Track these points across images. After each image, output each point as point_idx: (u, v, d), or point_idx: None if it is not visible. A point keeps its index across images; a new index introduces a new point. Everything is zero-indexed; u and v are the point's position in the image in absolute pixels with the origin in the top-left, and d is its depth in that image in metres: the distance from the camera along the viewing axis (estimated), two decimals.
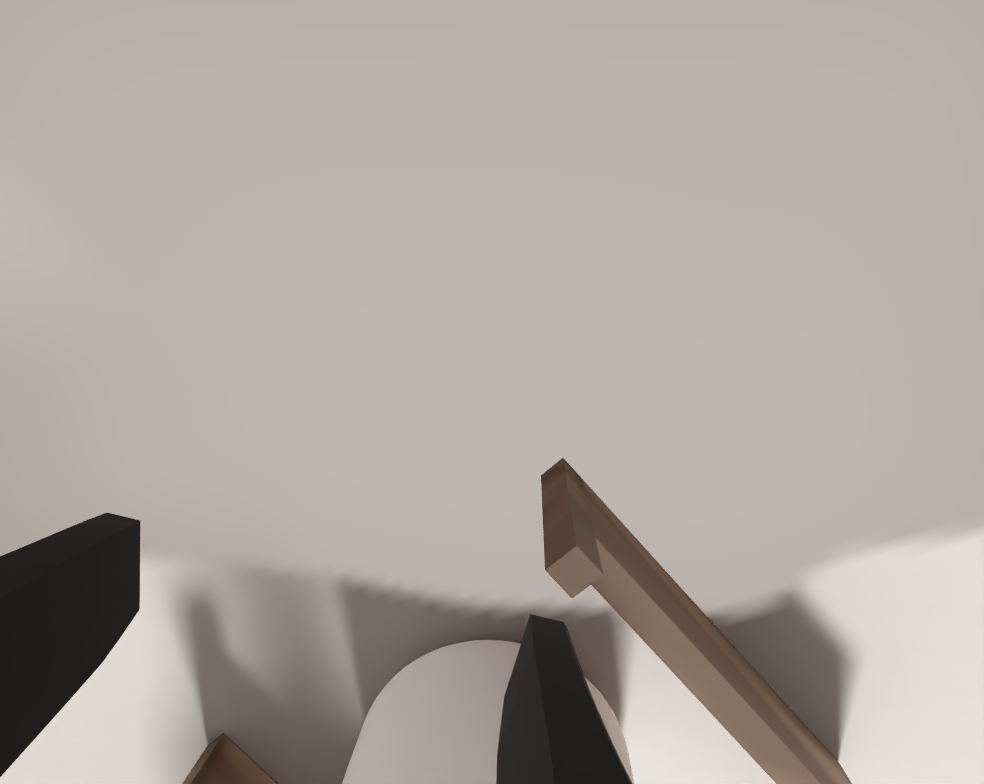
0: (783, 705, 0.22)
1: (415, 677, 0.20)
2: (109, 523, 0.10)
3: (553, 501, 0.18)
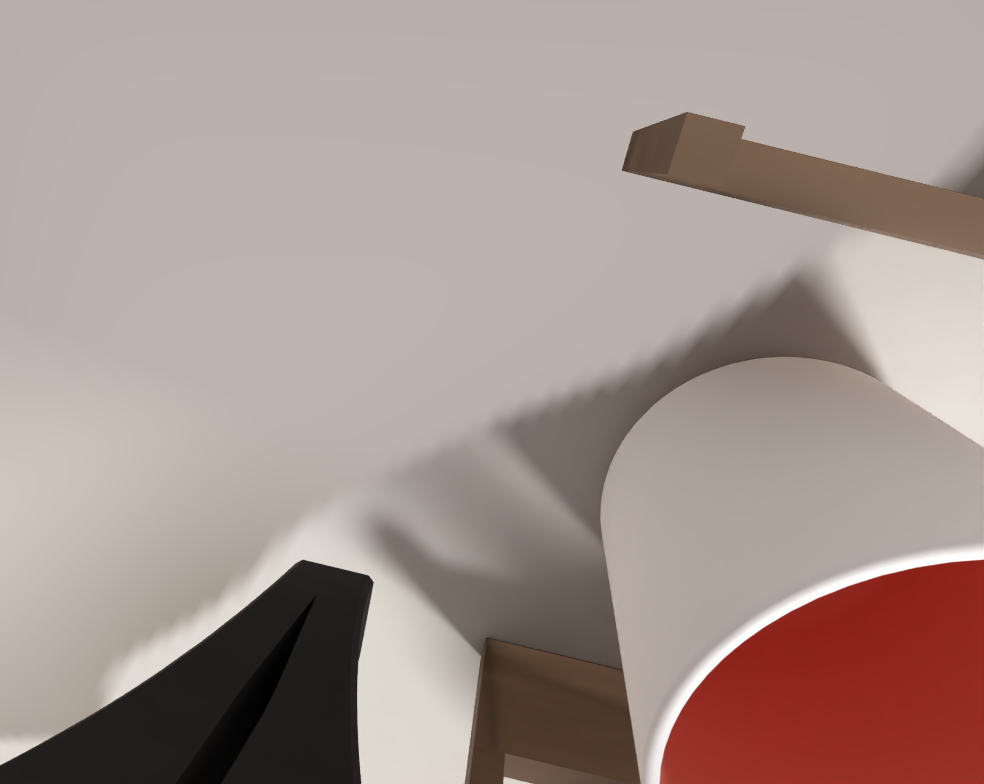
0: None
1: (622, 462, 0.17)
2: (312, 572, 0.10)
3: (643, 152, 0.13)
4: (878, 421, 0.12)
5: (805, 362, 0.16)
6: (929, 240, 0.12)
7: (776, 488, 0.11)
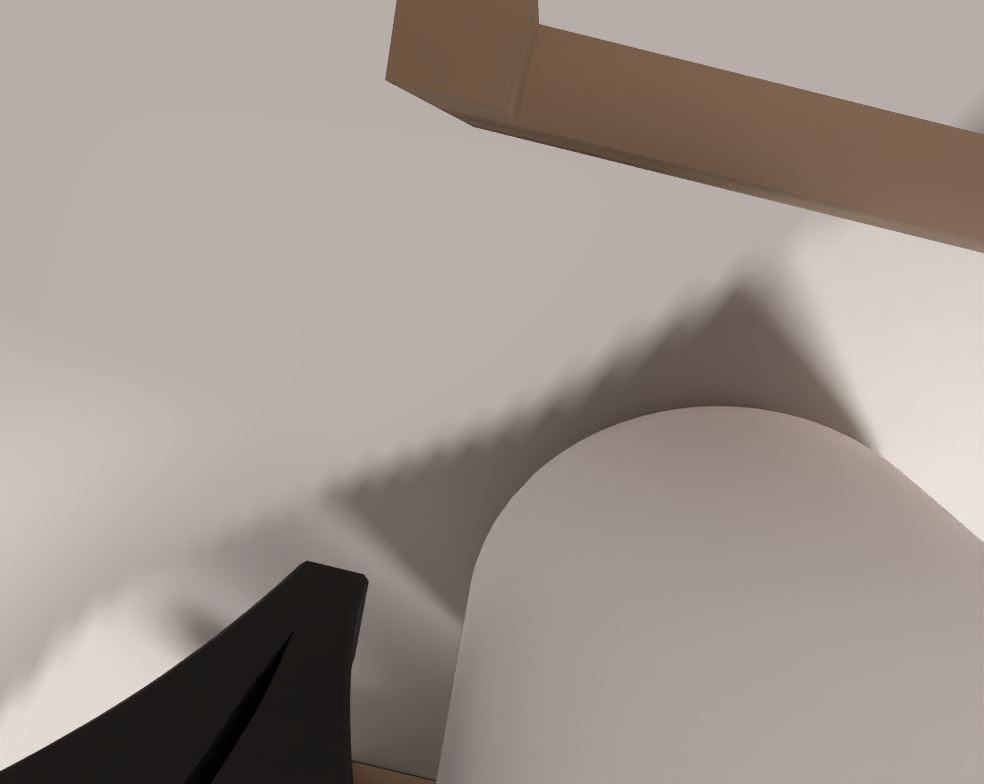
0: None
1: (484, 561, 0.12)
2: (317, 573, 0.10)
3: None
4: (850, 554, 0.07)
5: (748, 417, 0.11)
6: (941, 227, 0.07)
7: (644, 715, 0.06)
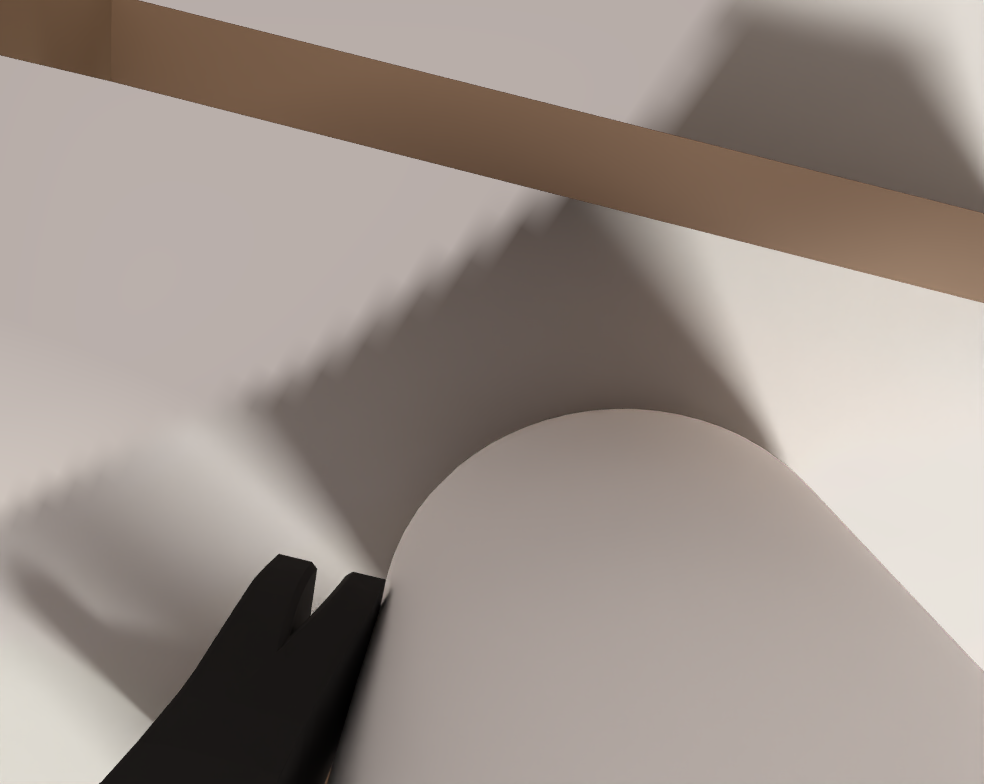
0: None
1: (401, 549, 0.12)
2: (365, 584, 0.10)
3: None
4: (744, 553, 0.07)
5: (668, 421, 0.11)
6: (477, 172, 0.08)
7: (533, 700, 0.06)
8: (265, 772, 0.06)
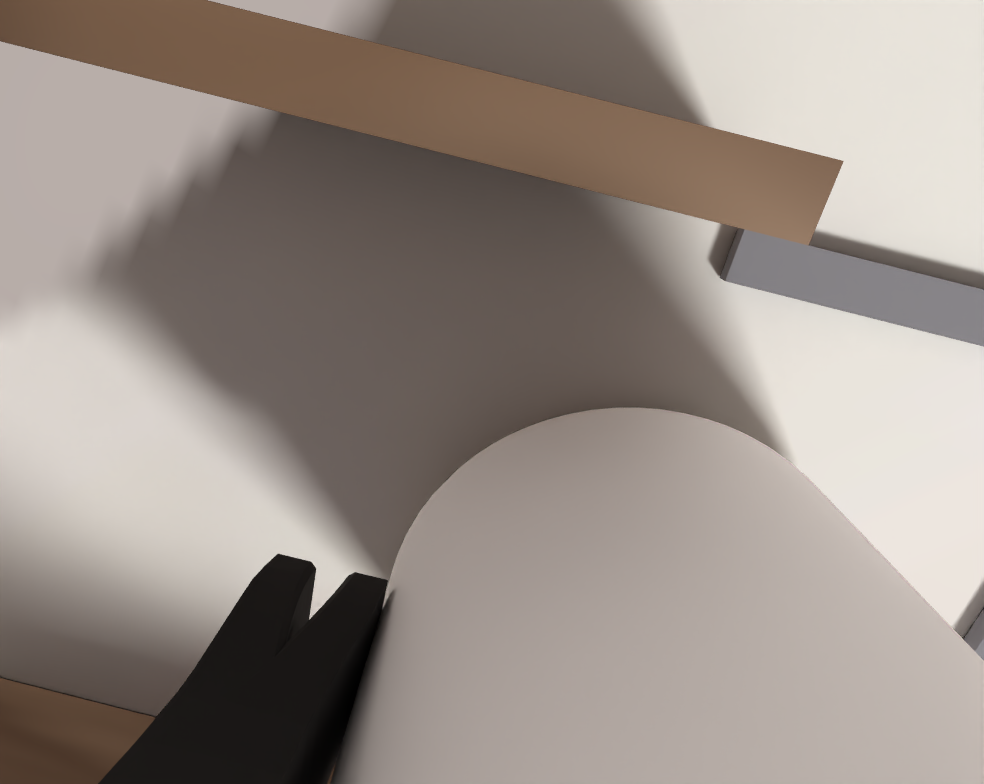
0: None
1: (404, 551, 0.11)
2: (367, 585, 0.10)
3: None
4: (747, 552, 0.07)
5: (670, 420, 0.11)
6: (18, 44, 0.07)
7: (532, 700, 0.06)
8: (264, 771, 0.06)
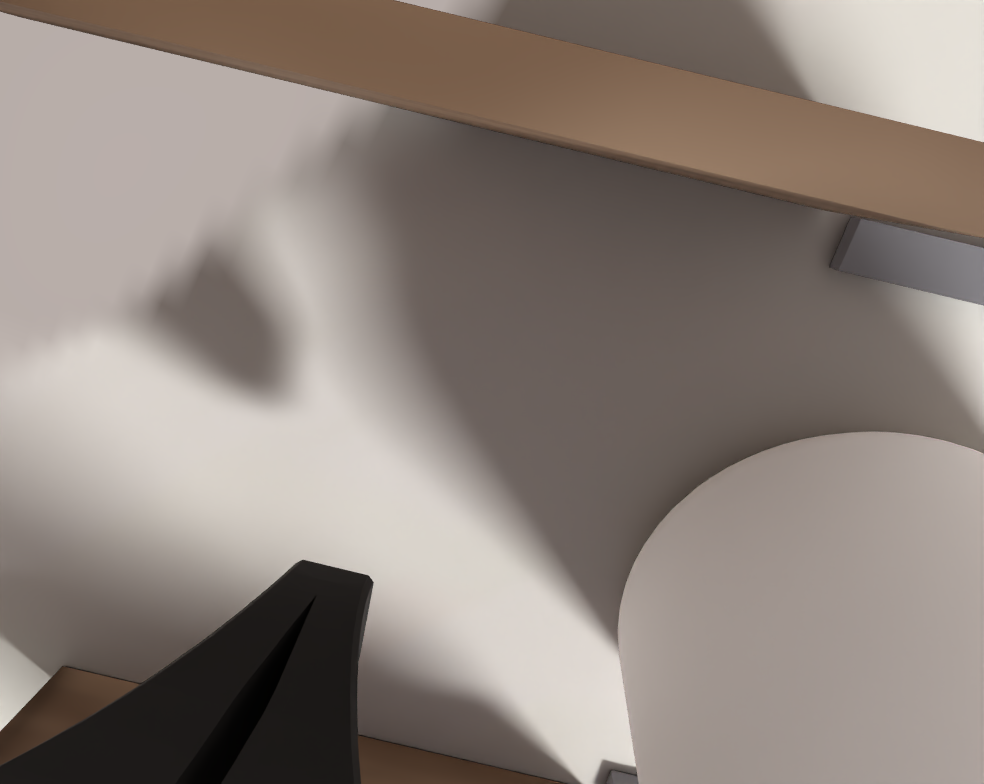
0: None
1: (655, 571, 0.12)
2: (313, 572, 0.10)
3: None
4: None
5: (921, 444, 0.11)
6: (192, 45, 0.07)
7: (960, 724, 0.06)
8: None
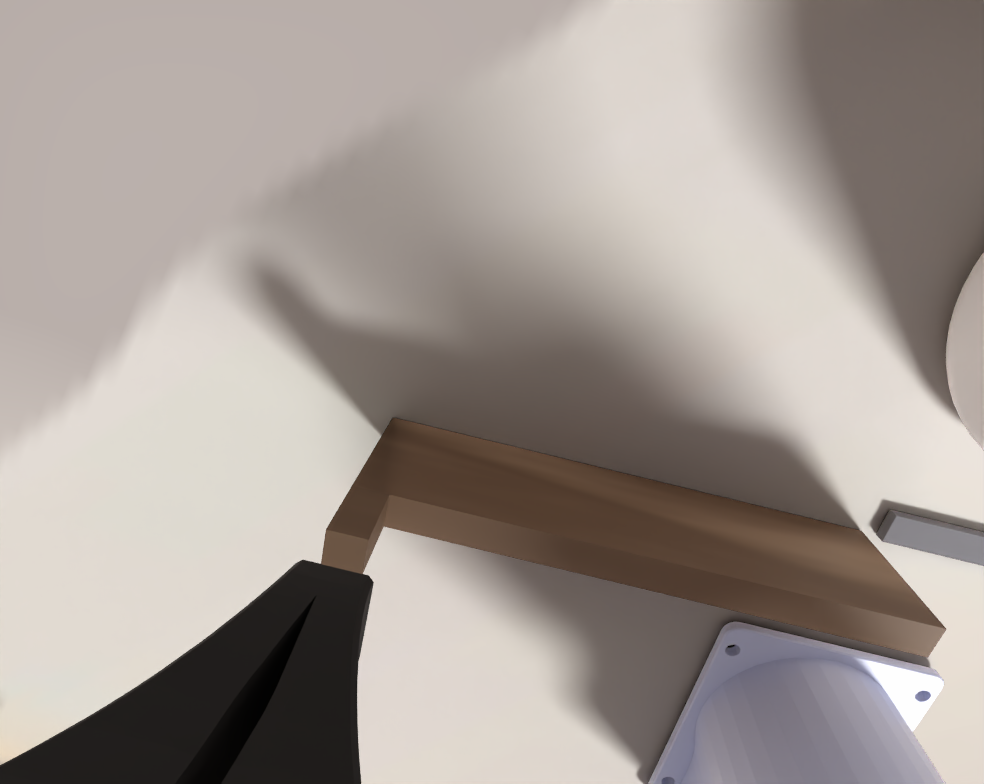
0: None
1: None
2: (312, 573, 0.10)
3: None
4: None
5: None
6: None
7: None
8: None
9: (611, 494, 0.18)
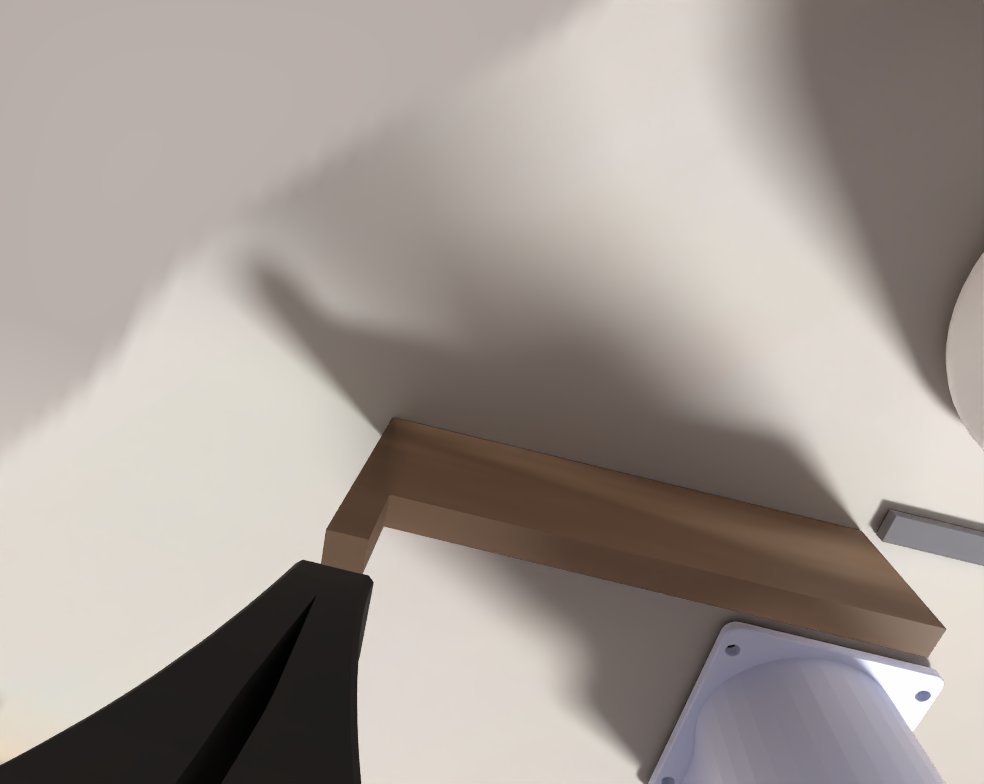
0: None
1: None
2: (312, 573, 0.10)
3: None
4: None
5: None
6: None
7: None
8: None
9: (611, 494, 0.18)
